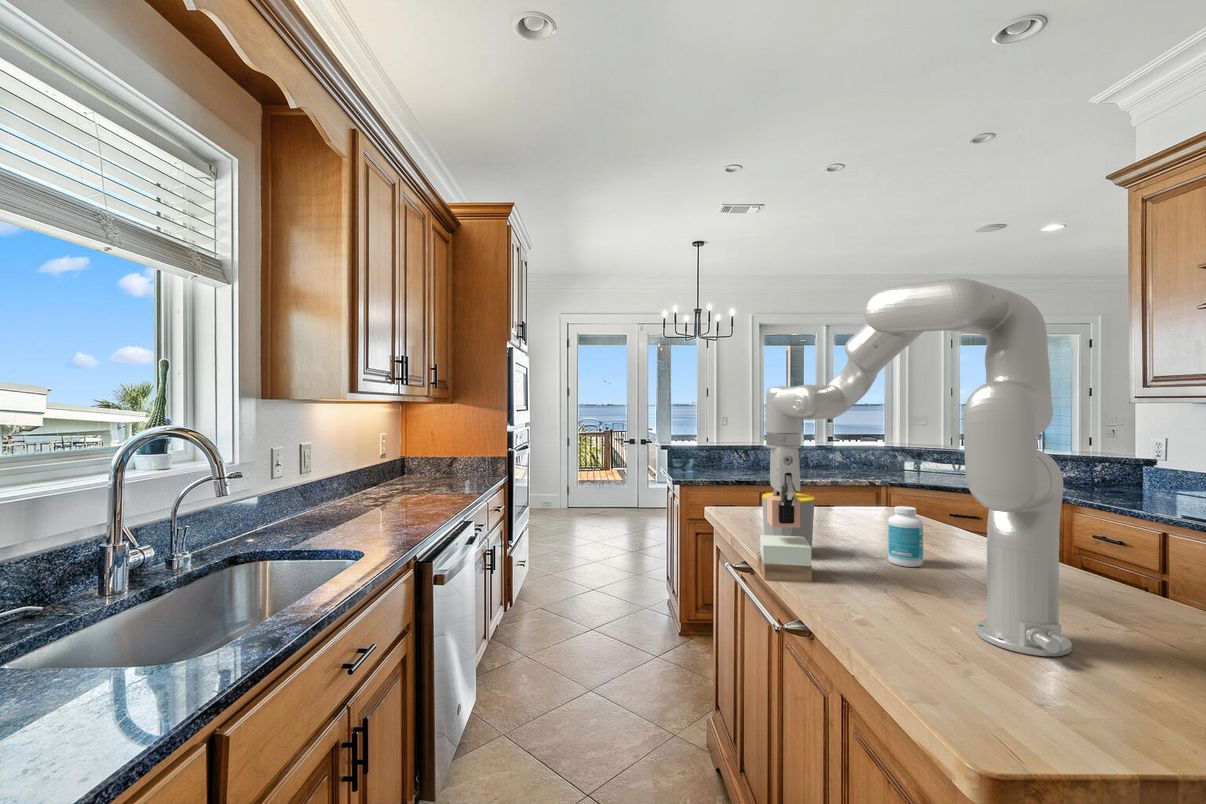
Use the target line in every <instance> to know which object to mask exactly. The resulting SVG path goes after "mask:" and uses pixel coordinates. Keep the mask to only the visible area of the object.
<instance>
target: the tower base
mask: <svg viewBox="0 0 1206 804" xmlns="http://www.w3.org/2000/svg"><path fill="white" fill-rule="evenodd" d="M756 553H757V554H756V557H757V558H756V567H757V569H758V571H759V574H761V577H762V578H763V580H764V581H765V582H766V581H771V582H772V581H773V582H796V583H797V582H800V583H801V582H802V583H804V582H805V583H812V582H813V574H812V573H813V572H812V571H813V569H812V568H813V566H812V564H811V566H801V565H782V564H763V560H762V556H761V552H760V551H757V552H756Z"/></svg>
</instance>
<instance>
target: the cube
mask: <svg viewBox="0 0 1206 804" xmlns="http://www.w3.org/2000/svg"><path fill="white" fill-rule="evenodd" d="M783 498H784V496H783ZM779 505H781V504H780V496H767V522H768V523H769V524H770V525H771V526H772V527H794V528H800V500H799V499H797V498H796V497H794V523H793V524H784V523H780V522H779Z"/></svg>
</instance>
